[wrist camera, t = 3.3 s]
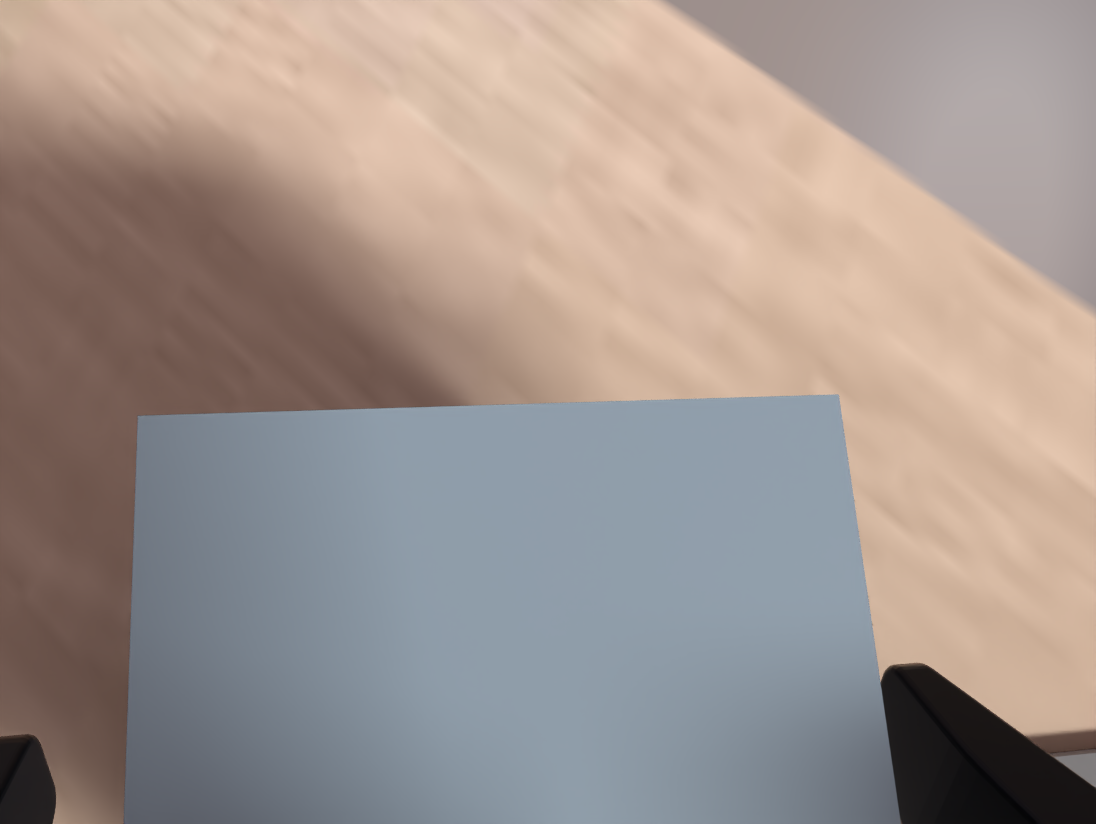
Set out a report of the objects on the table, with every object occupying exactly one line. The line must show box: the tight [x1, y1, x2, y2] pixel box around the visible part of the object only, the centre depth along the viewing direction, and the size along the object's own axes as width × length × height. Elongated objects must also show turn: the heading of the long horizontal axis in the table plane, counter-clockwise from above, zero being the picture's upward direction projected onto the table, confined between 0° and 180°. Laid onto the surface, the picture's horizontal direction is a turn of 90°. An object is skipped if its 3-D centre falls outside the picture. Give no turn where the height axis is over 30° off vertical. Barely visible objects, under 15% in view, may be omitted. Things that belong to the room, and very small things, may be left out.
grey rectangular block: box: [124, 395, 901, 824], centre depth 11 cm, size 8×6×10 cm
